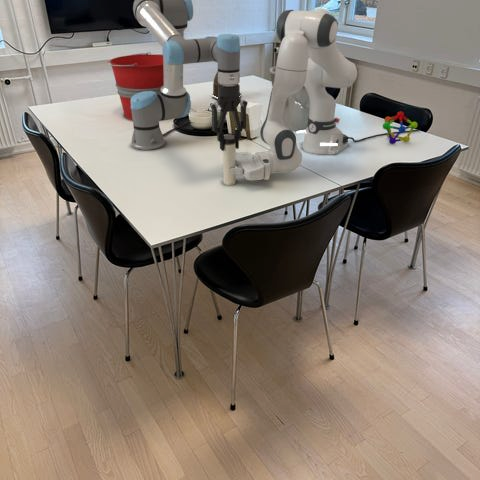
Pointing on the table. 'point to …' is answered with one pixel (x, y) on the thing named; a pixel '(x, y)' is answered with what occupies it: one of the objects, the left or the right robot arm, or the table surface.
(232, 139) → the lid
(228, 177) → the jar
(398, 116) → the educational toy
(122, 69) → the bucket
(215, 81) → the bell
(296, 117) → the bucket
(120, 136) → the table surface
